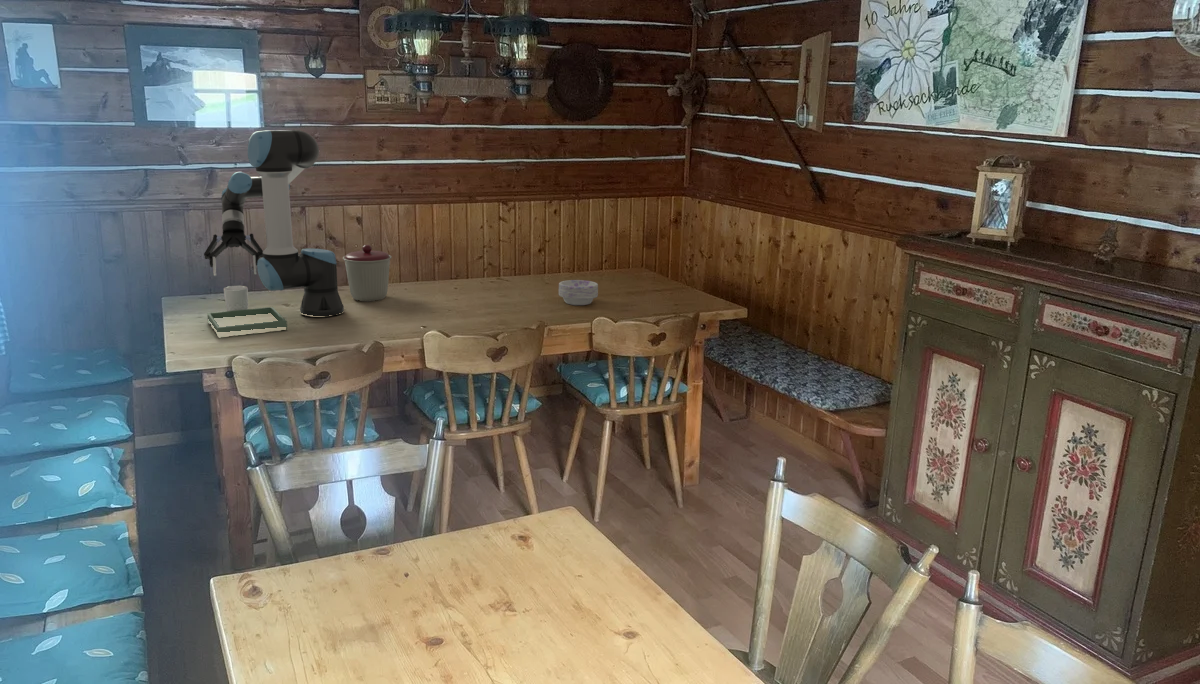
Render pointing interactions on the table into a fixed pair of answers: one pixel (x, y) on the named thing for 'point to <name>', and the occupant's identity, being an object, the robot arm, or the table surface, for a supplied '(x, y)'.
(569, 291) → the paper bowls
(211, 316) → the green box
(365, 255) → the canister
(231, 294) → the white cup
